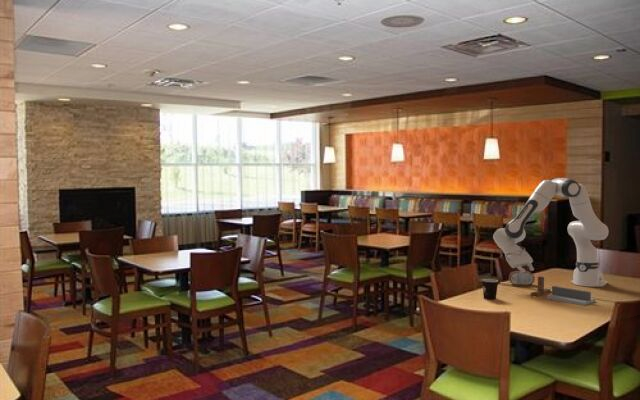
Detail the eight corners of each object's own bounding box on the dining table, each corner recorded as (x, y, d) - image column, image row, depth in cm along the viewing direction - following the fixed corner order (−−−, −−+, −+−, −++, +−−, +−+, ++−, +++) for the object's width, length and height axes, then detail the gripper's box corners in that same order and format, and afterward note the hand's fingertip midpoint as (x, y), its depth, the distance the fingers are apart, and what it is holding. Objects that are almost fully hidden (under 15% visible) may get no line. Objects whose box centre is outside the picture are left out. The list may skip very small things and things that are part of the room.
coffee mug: (499, 300, 288) (499, 282, 287) (482, 299, 290) (482, 281, 289) (496, 295, 299) (496, 278, 299) (480, 295, 301) (480, 277, 300)
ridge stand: (558, 295, 300) (558, 284, 299) (595, 301, 284) (595, 290, 284) (547, 298, 291) (547, 287, 291) (584, 305, 276) (584, 294, 276)
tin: (533, 284, 329) (533, 271, 328) (535, 285, 326) (535, 272, 325) (508, 284, 330) (508, 270, 330) (509, 285, 327) (509, 271, 327)
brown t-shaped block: (546, 291, 310) (546, 274, 309) (550, 292, 308) (550, 275, 307) (530, 296, 298) (530, 278, 298) (534, 297, 296) (535, 279, 296)
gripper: (507, 250, 307) (522, 269, 300) (525, 247, 320) (541, 265, 313) (500, 257, 310) (515, 276, 303) (518, 254, 323) (533, 272, 316)
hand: (528, 271), depth 308 cm, fingers open, 8 cm apart
